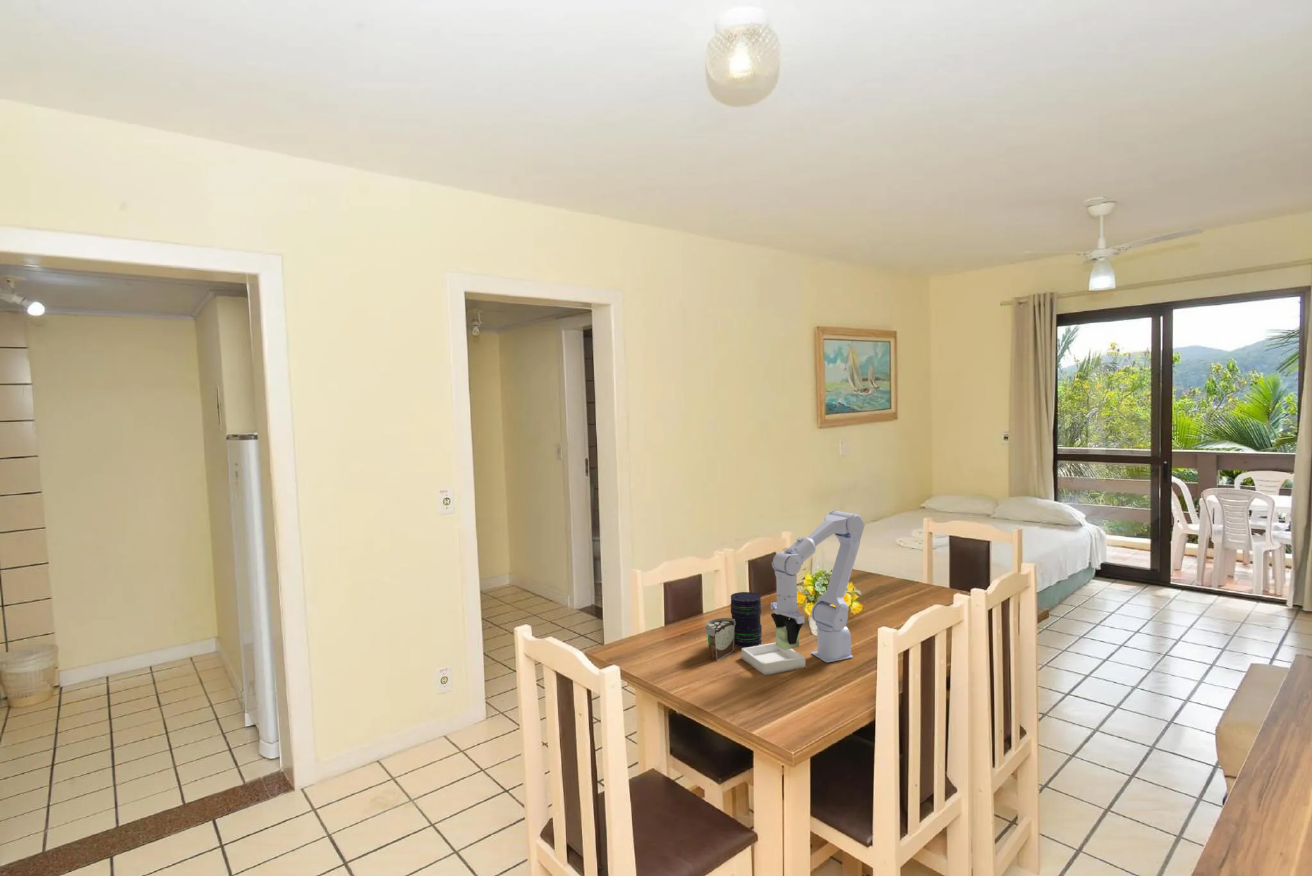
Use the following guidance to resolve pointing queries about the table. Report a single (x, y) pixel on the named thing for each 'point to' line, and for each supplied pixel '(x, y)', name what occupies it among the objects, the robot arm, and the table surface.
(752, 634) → the storage jar
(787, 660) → the grey tray
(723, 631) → the food container
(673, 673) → the table surface
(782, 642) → the green block
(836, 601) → the robot arm
